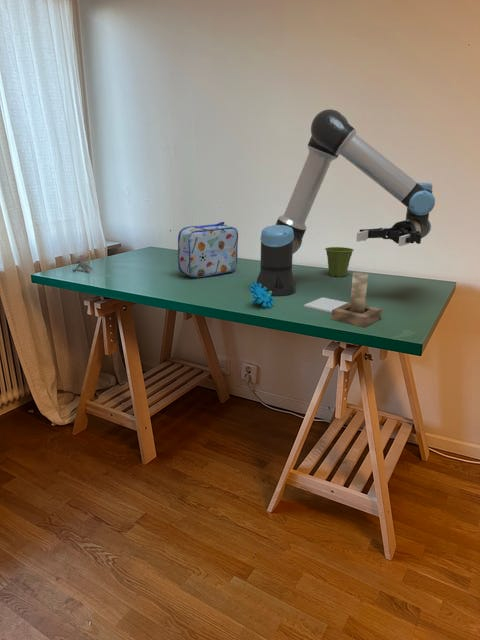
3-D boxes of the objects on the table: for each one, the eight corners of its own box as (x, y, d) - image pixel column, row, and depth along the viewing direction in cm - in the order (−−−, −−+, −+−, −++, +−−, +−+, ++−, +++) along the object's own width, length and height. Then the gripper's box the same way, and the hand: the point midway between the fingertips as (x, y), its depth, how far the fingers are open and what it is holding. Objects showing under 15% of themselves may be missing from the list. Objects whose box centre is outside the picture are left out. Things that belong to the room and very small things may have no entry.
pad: (303, 306, 150) (303, 304, 149) (322, 298, 158) (322, 297, 158) (335, 314, 142) (336, 312, 142) (353, 305, 151) (353, 303, 151)
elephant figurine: (78, 275, 191) (66, 265, 195) (85, 282, 196) (73, 272, 200) (95, 258, 193) (82, 249, 197) (101, 266, 198) (89, 256, 202)
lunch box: (227, 267, 205) (227, 218, 198) (242, 272, 198) (242, 221, 191) (176, 276, 189) (173, 223, 182) (189, 281, 181) (187, 226, 174)
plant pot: (357, 275, 192) (359, 249, 189) (340, 279, 185) (343, 252, 181) (334, 270, 201) (336, 245, 197) (317, 274, 193) (319, 248, 189)
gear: (263, 307, 143) (247, 281, 146) (251, 317, 147) (236, 292, 149) (281, 303, 152) (266, 280, 155) (269, 313, 155) (255, 290, 158)
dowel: (346, 319, 138) (350, 274, 133) (353, 315, 141) (357, 271, 136) (359, 322, 135) (364, 276, 130) (366, 318, 138) (370, 274, 134)
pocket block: (331, 319, 137) (332, 309, 136) (348, 311, 145) (349, 302, 144) (364, 327, 131) (365, 317, 130) (380, 318, 139) (382, 308, 138)
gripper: (441, 246, 146) (417, 256, 131) (369, 239, 161) (340, 247, 146) (444, 223, 144) (420, 230, 128) (371, 218, 159) (342, 223, 144)
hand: (378, 239), depth 137 cm, fingers open, 13 cm apart
